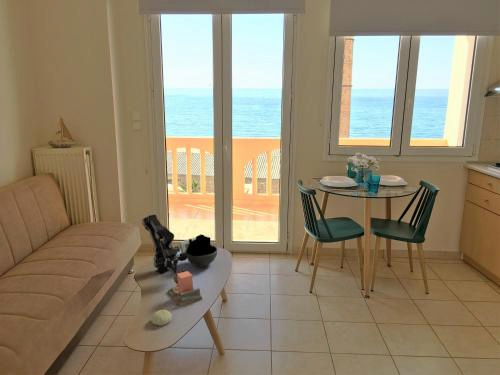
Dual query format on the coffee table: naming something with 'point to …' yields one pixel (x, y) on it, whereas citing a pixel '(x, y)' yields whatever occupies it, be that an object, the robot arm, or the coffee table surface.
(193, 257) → the bowl of black rocks
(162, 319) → the sea urchin shell
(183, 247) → the digital clock
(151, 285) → the coffee table surface
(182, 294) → the base
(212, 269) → the coffee table surface
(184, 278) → the salmon pink rectangular block
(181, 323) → the coffee table surface
